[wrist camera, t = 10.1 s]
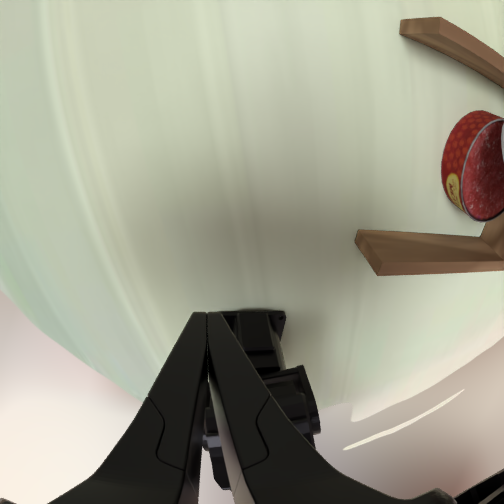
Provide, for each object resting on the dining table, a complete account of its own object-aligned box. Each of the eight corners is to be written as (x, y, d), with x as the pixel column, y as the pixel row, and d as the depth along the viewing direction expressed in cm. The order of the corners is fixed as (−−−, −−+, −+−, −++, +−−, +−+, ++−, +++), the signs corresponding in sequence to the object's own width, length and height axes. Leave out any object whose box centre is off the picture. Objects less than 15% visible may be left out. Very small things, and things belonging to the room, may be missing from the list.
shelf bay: (481, 246, 27) (504, 270, 23) (354, 242, 24) (377, 275, 21) (528, 94, 17) (560, 107, 13) (400, 19, 14) (440, 16, 10)
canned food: (419, 114, 23) (482, 79, 13) (490, 129, 23) (552, 111, 13) (428, 234, 24) (500, 247, 14) (497, 233, 24) (564, 243, 14)
